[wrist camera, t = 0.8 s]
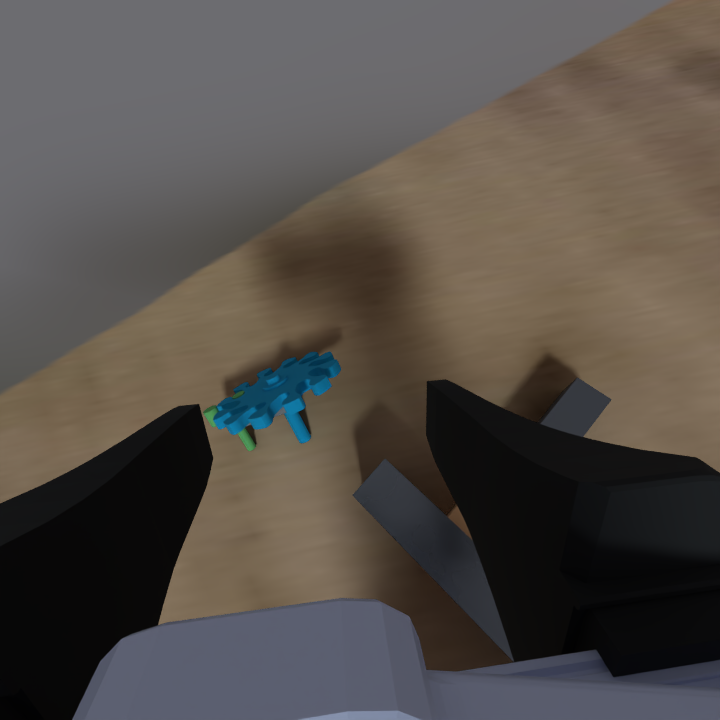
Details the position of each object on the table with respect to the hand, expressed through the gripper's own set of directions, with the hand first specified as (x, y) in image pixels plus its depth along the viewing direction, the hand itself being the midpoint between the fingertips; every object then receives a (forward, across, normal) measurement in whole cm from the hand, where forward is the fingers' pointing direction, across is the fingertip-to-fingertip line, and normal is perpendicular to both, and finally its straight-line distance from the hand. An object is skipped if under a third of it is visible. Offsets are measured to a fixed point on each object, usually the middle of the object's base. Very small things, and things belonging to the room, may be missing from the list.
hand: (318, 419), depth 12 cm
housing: (+7, -8, +16) cm, 19 cm away
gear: (+18, +4, +9) cm, 20 cm away
